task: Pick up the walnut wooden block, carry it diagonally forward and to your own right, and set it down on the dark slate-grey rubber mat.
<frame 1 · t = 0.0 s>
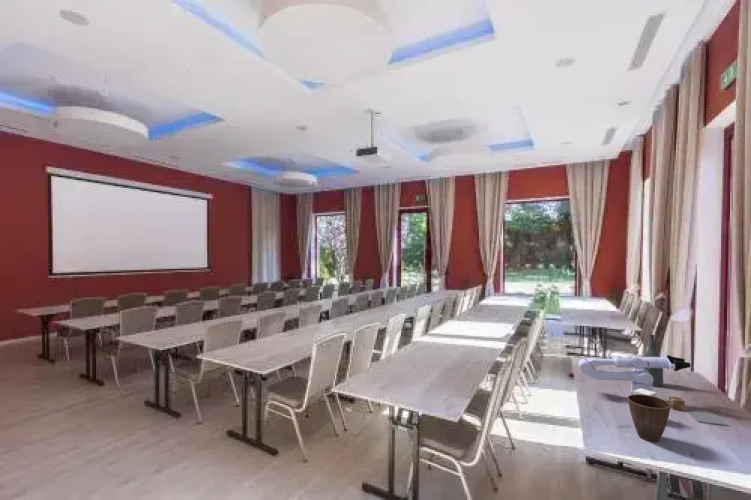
hand: (687, 363, 195), 22 cm above the table, tool horizontal, fingers open, 7 cm apart
supplement box: (645, 417, 181), on the table
bottle: (652, 384, 225), on the table
plant pot: (649, 438, 161), on the table
walnut block: (677, 408, 190), on the table
slate mat: (708, 419, 178), on the table
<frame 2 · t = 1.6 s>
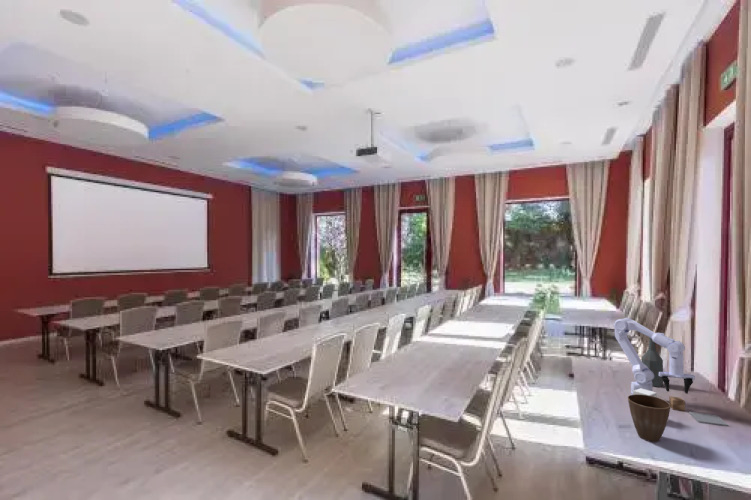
hand: (676, 391, 190), 8 cm above the table, tool pointing down, fingers open, 7 cm apart
nothing on the table moved.
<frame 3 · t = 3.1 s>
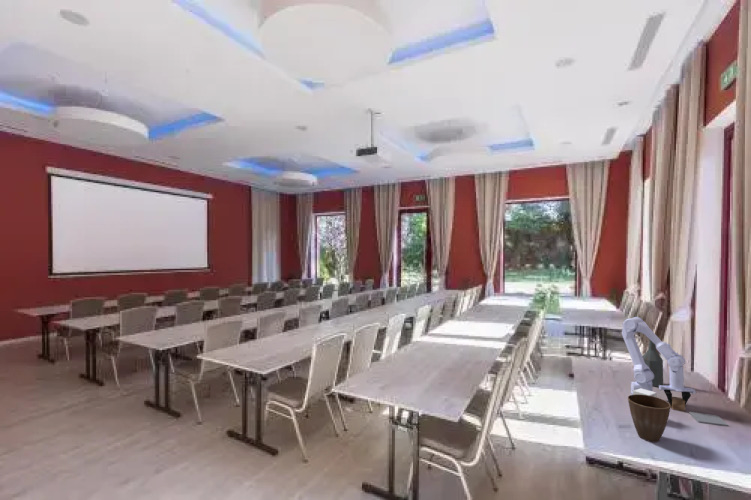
hand: (677, 405, 190), 1 cm above the table, tool pointing down, fingers closed on walnut block, 5 cm apart
walnut block: (677, 408, 190), on the table, touching gripper
everything else where it was.
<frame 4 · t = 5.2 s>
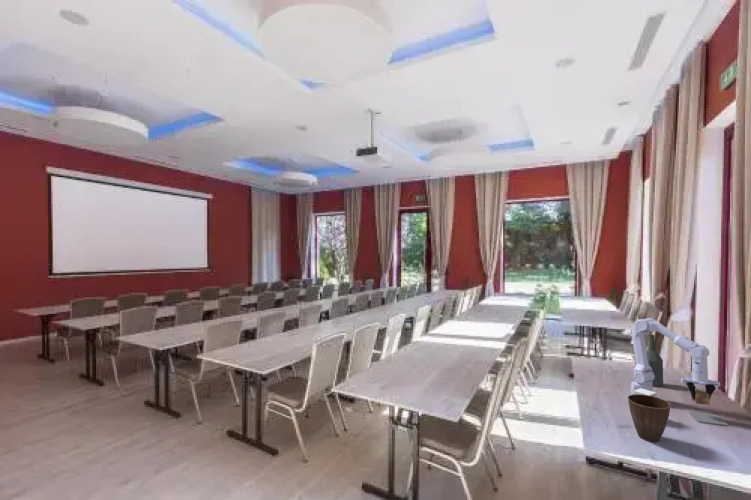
hand: (700, 399, 181), 9 cm above the table, tool pointing down, fingers closed on walnut block, 5 cm apart
walnut block: (700, 402, 181), point 7 cm above the table, touching gripper
everything else where it was.
when the fingers open (4 cm above the table, at t = 7.3 s): walnut block drops 2 cm, resting on slate mat.
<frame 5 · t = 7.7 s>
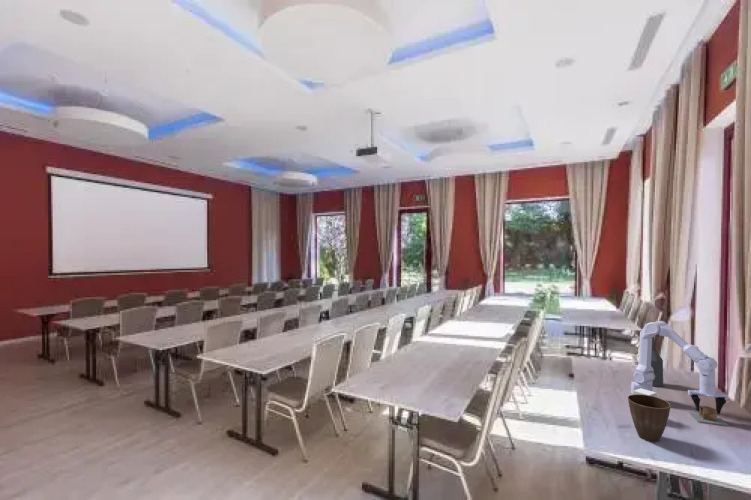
hand: (707, 411, 178), 4 cm above the table, tool pointing down, fingers open, 7 cm apart
walnut block: (707, 418, 178), point 1 cm above the table, touching slate mat
everything else where it was.
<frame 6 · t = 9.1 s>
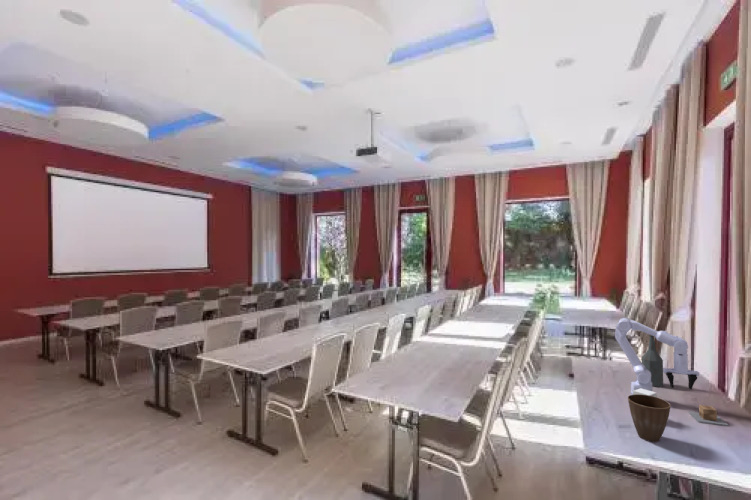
hand: (681, 388, 193), 9 cm above the table, tool pointing down, fingers open, 7 cm apart
nothing on the table moved.
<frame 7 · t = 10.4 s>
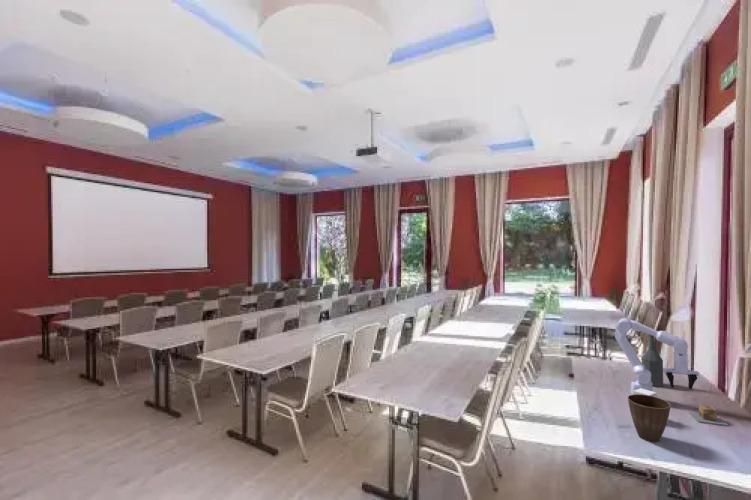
hand: (681, 388, 193), 9 cm above the table, tool pointing down, fingers open, 7 cm apart
nothing on the table moved.
at the end: walnut block inside the target area on the slate mat (0.0 cm from its centre), point 0.6 cm above the slate mat's base; walnut block tilted 0°; the gripper is holding nothing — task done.
